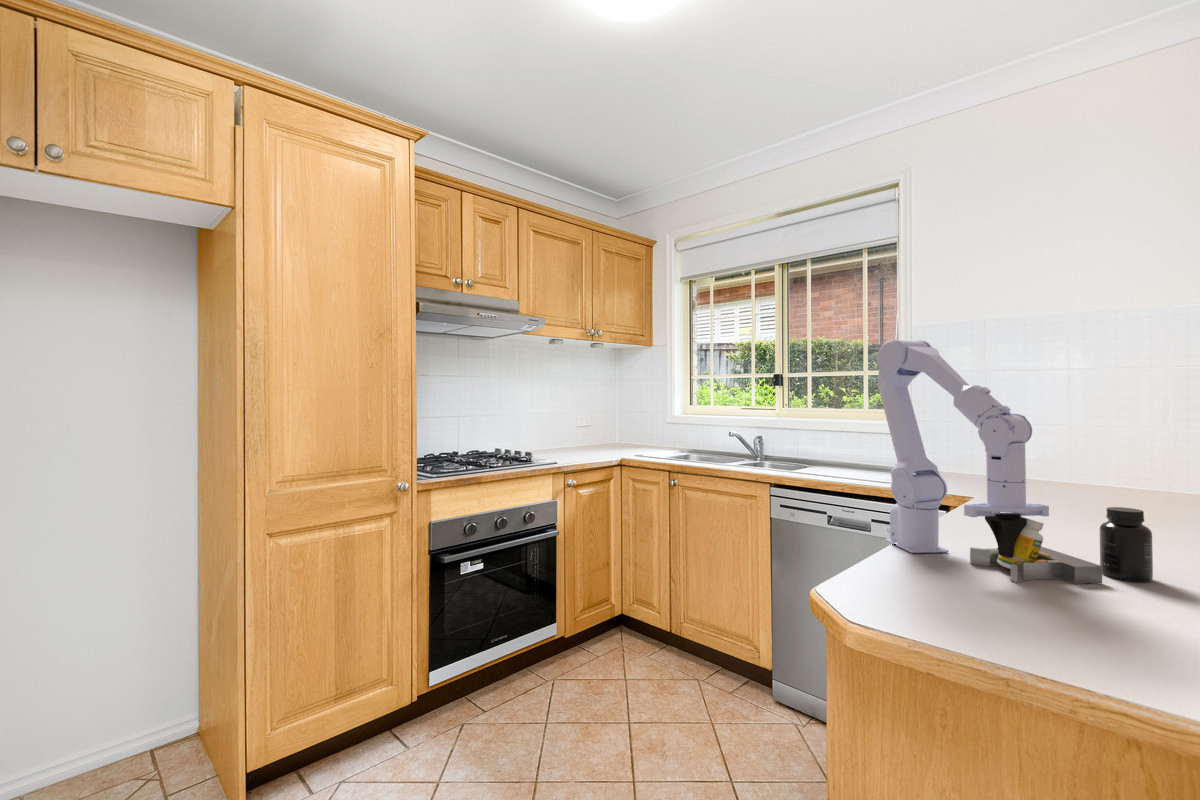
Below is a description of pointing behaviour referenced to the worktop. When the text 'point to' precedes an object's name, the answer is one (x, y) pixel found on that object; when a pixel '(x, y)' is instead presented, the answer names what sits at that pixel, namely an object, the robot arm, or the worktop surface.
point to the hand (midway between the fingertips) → (1006, 556)
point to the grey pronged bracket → (1043, 566)
